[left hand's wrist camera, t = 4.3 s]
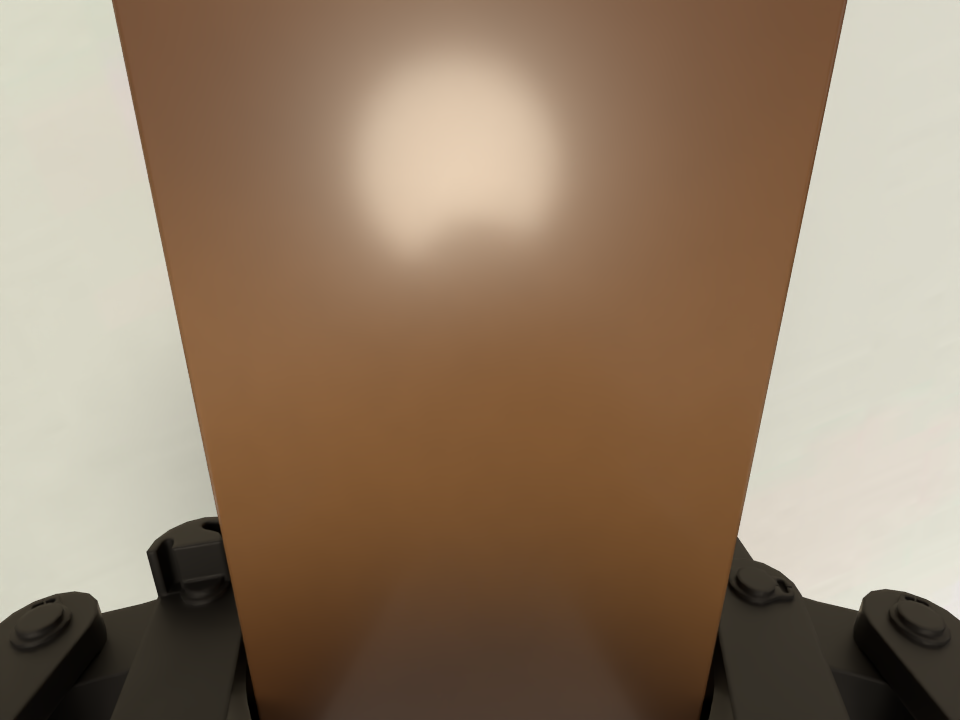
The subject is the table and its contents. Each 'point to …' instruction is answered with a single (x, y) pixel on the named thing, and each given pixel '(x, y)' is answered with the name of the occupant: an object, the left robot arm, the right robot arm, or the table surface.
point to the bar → (479, 329)
